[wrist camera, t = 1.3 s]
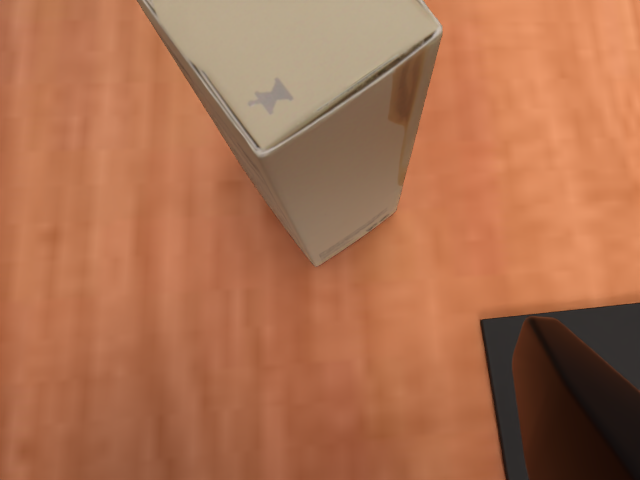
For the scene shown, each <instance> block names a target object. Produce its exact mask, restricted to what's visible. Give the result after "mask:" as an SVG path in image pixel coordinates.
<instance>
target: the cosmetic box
mask: <svg viewBox="0 0 640 480" xmlns="http://www.w3.org/2000/svg"><path fill="white" fill-rule="evenodd" d="M137 2H138V3H139V5H140V6H141V8H142V10H143V11H144V13H145V14H146V16H147V17H148V19H149V21H150V22H151V24H152V25H153V27H154V28H155V30H156V32H157V33H158V35H159V36H160V38H161V40H162V41H163V43H164V44H165V46H166V47H167V49H168V51H169V52H170V54H171V55H172V57H173V58H174V60H175V62H176V63H177V65H178V66H179V68H180V70H181V71H182V73H183V74H184V76H185V77H186V79H187V81H188V82H189V84H190V85H191V87H192V88H193V90H194V92H195V93H196V95H197V96H198V98H199V100H200V101H201V103H202V104H203V106H204V107H205V109H206V111H207V112H208V114H209V115H210V117H211V118H212V120H213V122H214V123H215V125H216V126H217V128H218V130H219V131H220V133H221V134H222V136H223V138H224V139H225V141H226V142H227V144H228V146H229V147H230V149H231V150H232V152H233V154H234V155H235V157H236V158H237V160H238V162H239V163H240V165H241V166H242V168H243V169H244V171H245V172H246V174H247V175H248V177H249V178H250V180H251V181H252V183H253V184H254V185H255V187H256V188H257V190H258V191H259V193H260V194H261V195H262V197H263V198H264V200H265V201H266V203H267V204H268V206H269V207H270V208H271V210H272V211H273V212H274V214H275V215H276V217H277V218H278V219H279V221H280V222H281V223H282V225H283V226H284V227H285V229H286V230H287V232H288V233H289V234H290V236H291V237H292V238H293V240H294V241H295V242H296V244H297V245H298V246H299V247H300V249H301V250H302V251H303V253H304V254H305V255H306V256H307V258H308V259H309V260H310V262H311V263H312V264H313V265H314V266H316V267H317V266H319V265H321V264H322V263H324V262H326V261H327V260H329V259H330V258H332V257H333V256H335V255H336V254H338V253H339V252H341V251H342V250H344V249H345V248H347V247H348V246H350V245H351V244H353V243H354V242H355V241H357V240H358V239H360V238H361V237H363V236H364V235H366V234H367V233H368V232H370V231H371V230H373V229H374V228H375V227H377V226H378V225H379V224H381V223H382V222H383V221H384V220H386V219H387V218H388V217H390V216H391V215H392V214H393V213H395V211H396V210H397V206H398V202H399V199H400V195H401V191H402V187H403V183H404V179H405V175H406V171H407V167H408V164H409V160H410V157H411V153H412V149H413V145H414V141H415V137H416V134H417V130H418V126H419V121H420V118H421V114H422V110H423V106H424V102H425V98H426V95H427V90H428V87H429V83H430V79H431V75H432V71H433V68H434V64H435V60H436V56H437V52H438V48H439V44H440V40H441V37H442V25H441V24H440V22H439V21H438V19H437V18H436V17H435V16H434V15H433V13H432V12H431V11H430V9H429V8H428V7H427V5H426V4H425V2H424V1H423V0H137Z"/></svg>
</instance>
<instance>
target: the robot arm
mask: <svg viewBox="0 0 640 480" xmlns="http://www.w3.org/2000/svg"><path fill="white" fill-rule="evenodd" d="M512 372H513V379H514V386H515V394H516V401H517V408H518V415H519V423H520V430H521V437H522V444H523V451H524V457H525V464H526V468H527V473H528V477H529V480H640V391H639V390H638V389H637V388H636V387H635V386H633V385H632V384H631V383H630V382H629V381H628V380H627V379H625V378H624V377H623V376H622V375H621V374H620V373H619V372H617V371H616V370H615V369H614V368H613V367H612V366H610V365H609V364H608V363H607V362H606V361H605V360H604V359H602V358H601V357H600V356H599V355H598V354H597V353H596V352H594V351H593V350H592V349H591V348H590V347H589V346H588V345H586V344H585V343H584V342H583V341H582V340H581V339H580V338H578V337H577V336H576V335H575V334H574V333H573V332H572V331H570V330H569V329H568V328H567V327H566V326H565V325H564V324H562V323H561V322H560V321H559V320H557V319H555V318H551V317H537V316H530V317H528V318H526V319H525V321H524V322H523V325H522V328H521V331H520V334H519V337H518V341H517V344H516V347H515V350H514V353H513V358H512Z"/></svg>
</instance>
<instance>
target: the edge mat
mask: <svg viewBox="0 0 640 480" xmlns="http://www.w3.org/2000/svg"><path fill="white" fill-rule="evenodd" d="M530 316H537V317H551V318H555V319H557V320H559V321H560V322H561V323H562V324H564V325H565V326H566V327H567V328H568V329H569V330H570V331H572V332H573V333H574V334H575V335H576V336H577V337H578V338H580V339H581V340H582V341H583V342H584V343H585V344H586V345H588V346H589V347H590V348H591V349H592V350H593V351H594V352H596V353H597V354H598V355H599V356H600V357H601V358H602V359H604V360H605V361H606V362H607V363H608V364H609V365H610V366H612V367H613V368H614V369H615V370H616V371H617V372H619V373H620V374H621V375H622V376H623V377H624V378H625V379H627V380H628V381H629V382H630V383H631V384H632V385H633V386H635V387H636V388H637V389H638V390H639V391H640V303H635V304H625V305H616V306H606V307H597V308H587V309H578V310H568V311H559V312H549V313H540V314H530V315H521V316H511V317H502V318H492V319H483V320H481V326H482V332H483V339H484V345H485V351H486V357H487V363H488V369H489V375H490V381H491V387H492V393H493V399H494V405H495V411H496V417H497V423H498V429H499V435H500V441H501V448H502V454H503V460H504V466H505V472H506V478H507V480H529V477H528V473H527V468H526V464H525V457H524V451H523V444H522V437H521V430H520V423H519V415H518V408H517V401H516V394H515V386H514V379H513V372H512V358H513V353H514V350H515V347H516V344H517V341H518V337H519V334H520V331H521V328H522V325H523V322H524V321H525V319H526V318H528V317H530Z"/></svg>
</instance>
